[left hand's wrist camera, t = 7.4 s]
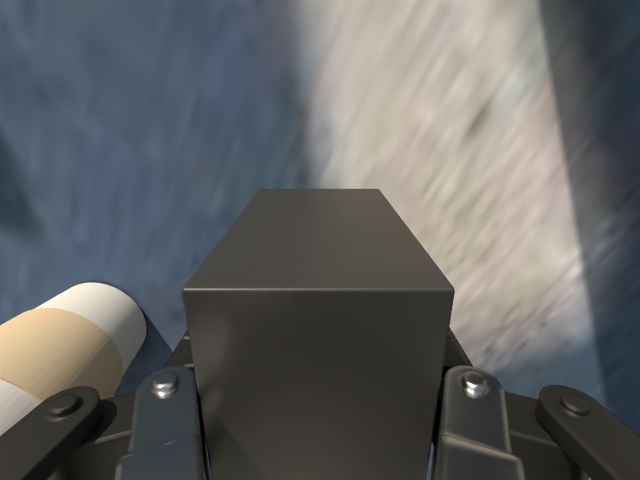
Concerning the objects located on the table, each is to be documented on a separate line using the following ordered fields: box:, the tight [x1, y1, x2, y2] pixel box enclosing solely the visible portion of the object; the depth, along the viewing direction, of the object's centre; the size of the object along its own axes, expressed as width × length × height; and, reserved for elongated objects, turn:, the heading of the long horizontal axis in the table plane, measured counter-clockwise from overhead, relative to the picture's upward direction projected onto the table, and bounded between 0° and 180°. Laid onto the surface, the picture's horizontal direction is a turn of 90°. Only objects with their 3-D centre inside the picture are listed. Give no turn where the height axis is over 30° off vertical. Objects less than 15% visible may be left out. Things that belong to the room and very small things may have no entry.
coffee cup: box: [0, 283, 146, 436], centre depth 19 cm, size 9×9×15 cm
